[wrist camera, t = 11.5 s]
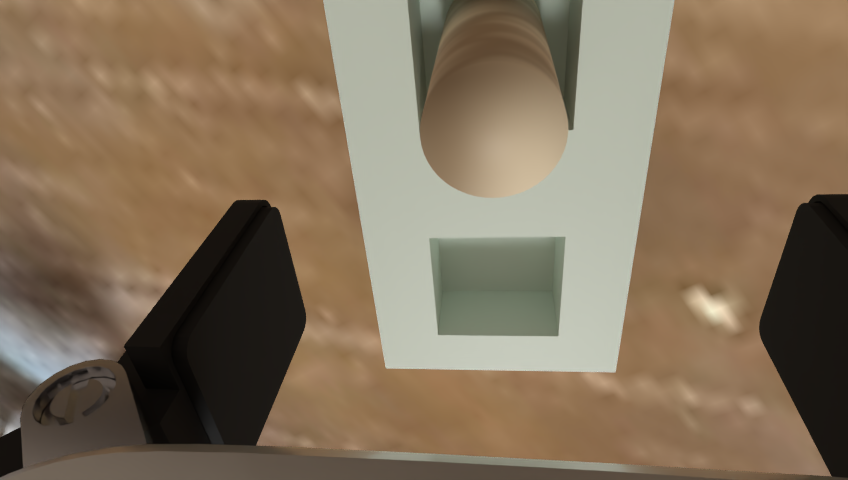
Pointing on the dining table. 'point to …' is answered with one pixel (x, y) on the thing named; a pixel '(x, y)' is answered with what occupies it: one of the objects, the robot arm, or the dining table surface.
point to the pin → (493, 100)
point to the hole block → (506, 216)
